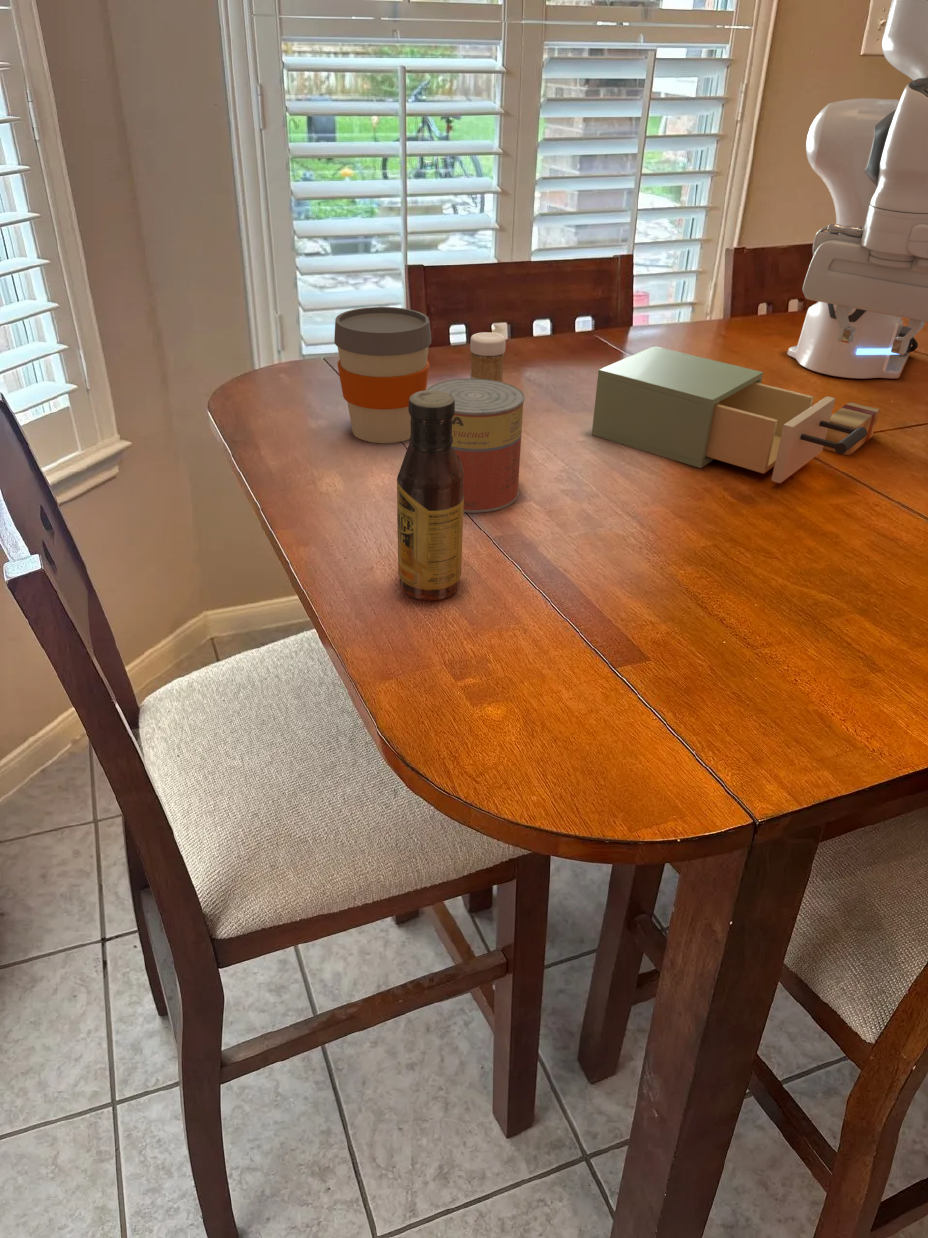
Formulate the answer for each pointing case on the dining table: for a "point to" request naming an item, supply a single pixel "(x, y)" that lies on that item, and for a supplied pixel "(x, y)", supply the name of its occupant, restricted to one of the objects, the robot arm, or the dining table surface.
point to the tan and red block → (852, 423)
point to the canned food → (486, 440)
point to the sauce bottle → (430, 501)
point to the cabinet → (665, 401)
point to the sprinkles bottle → (487, 356)
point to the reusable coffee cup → (382, 368)
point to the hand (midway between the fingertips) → (871, 347)
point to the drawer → (774, 430)
